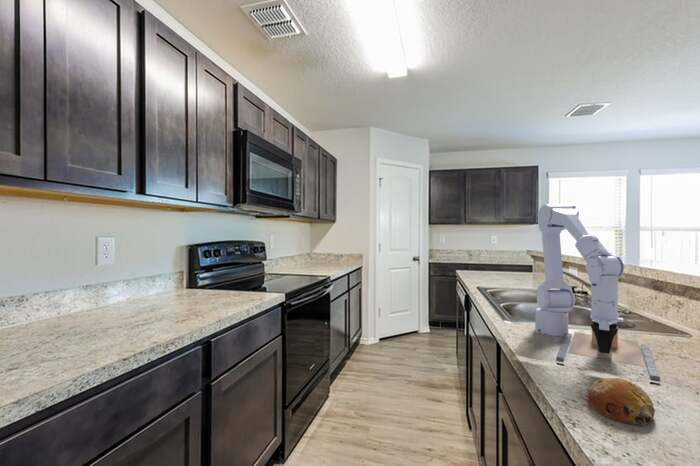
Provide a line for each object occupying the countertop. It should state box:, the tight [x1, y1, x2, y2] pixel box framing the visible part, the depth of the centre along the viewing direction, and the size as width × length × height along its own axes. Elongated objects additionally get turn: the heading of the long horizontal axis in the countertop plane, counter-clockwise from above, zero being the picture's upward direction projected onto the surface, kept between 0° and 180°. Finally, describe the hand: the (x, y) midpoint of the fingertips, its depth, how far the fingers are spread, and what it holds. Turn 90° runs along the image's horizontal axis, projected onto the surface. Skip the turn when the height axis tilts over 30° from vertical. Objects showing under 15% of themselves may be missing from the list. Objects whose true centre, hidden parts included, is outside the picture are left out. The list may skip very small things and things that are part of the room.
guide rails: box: [555, 332, 661, 386], centre depth 91 cm, size 20×26×2 cm
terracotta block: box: [591, 319, 619, 348], centre depth 100 cm, size 6×6×6 cm
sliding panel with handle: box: [567, 331, 646, 368], centre depth 97 cm, size 16×24×6 cm, turn 142°
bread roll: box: [587, 377, 656, 425], centre depth 64 cm, size 10×10×8 cm
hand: (604, 350), depth 89 cm, fingers closed on sliding panel with handle, 3 cm apart
